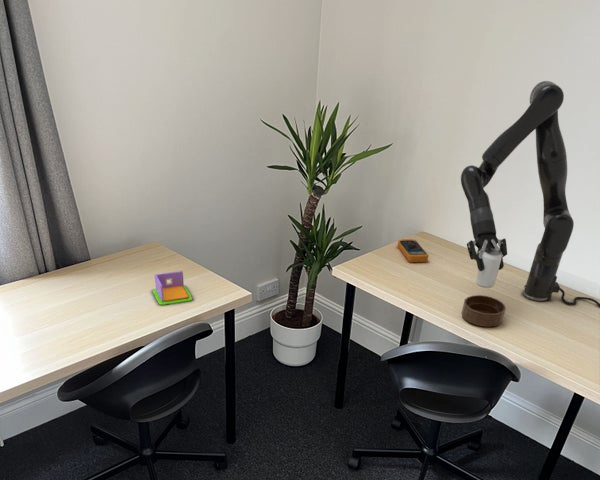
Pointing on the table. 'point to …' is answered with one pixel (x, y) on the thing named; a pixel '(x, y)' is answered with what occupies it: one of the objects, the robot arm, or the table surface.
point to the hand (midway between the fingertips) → (491, 269)
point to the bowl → (483, 310)
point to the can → (489, 268)
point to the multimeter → (412, 250)
